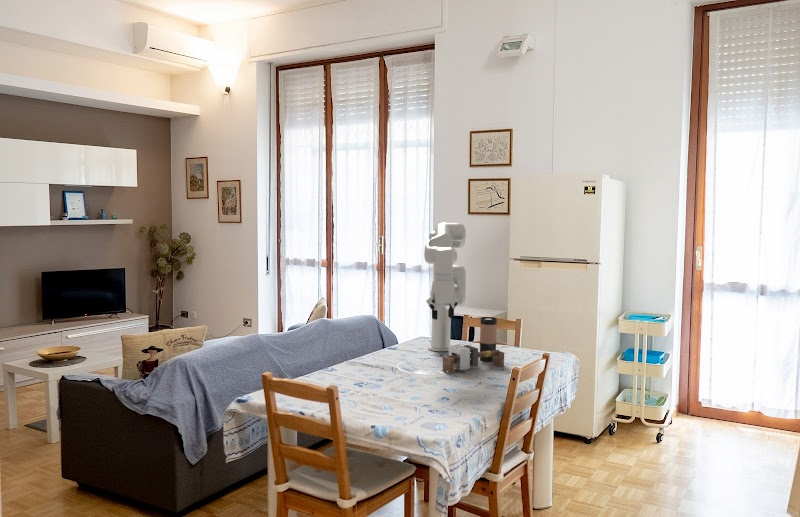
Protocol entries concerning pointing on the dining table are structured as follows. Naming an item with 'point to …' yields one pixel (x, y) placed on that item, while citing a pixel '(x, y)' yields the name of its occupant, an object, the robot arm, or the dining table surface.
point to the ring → (473, 355)
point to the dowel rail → (496, 360)
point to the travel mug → (488, 336)
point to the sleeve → (460, 356)
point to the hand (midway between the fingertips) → (442, 318)
